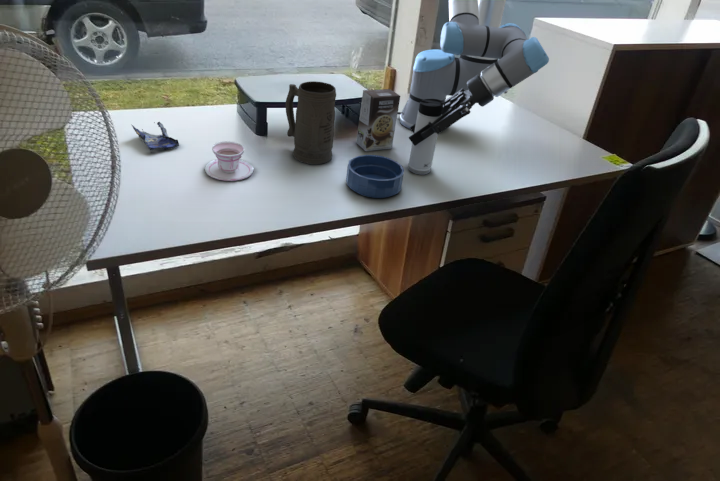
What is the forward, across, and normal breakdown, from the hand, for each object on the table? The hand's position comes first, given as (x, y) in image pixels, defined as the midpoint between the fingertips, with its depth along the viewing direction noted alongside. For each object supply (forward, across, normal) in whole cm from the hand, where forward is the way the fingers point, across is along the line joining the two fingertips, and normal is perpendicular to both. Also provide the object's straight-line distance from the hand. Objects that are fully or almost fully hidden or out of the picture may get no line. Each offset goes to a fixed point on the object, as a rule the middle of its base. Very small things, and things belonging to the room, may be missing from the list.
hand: (412, 136), depth 151 cm
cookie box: (+14, +12, 0) cm, 18 cm away
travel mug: (+4, 0, -9) cm, 10 cm away
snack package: (+54, -9, +41) cm, 69 cm away
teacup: (+38, -18, +25) cm, 49 cm away
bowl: (+12, -14, -1) cm, 19 cm away
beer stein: (+27, -1, +13) cm, 30 cm away
